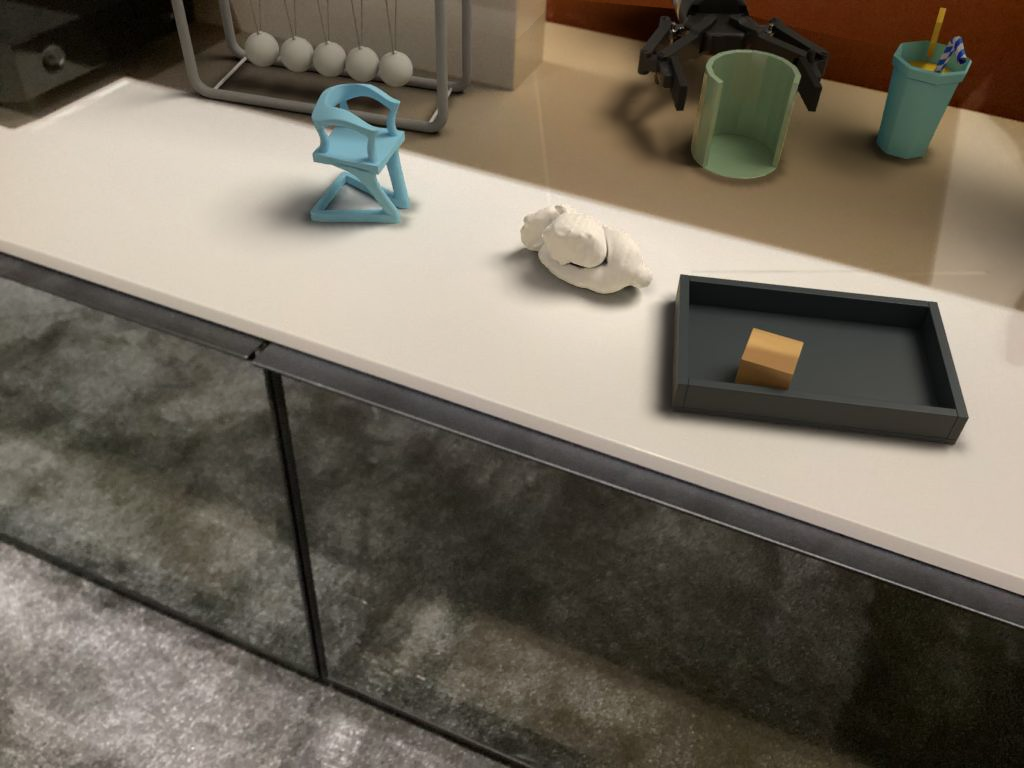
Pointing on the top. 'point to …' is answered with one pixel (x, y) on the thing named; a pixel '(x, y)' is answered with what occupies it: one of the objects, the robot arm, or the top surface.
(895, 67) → the cup
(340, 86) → the chair
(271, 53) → the newton's cradle
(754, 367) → the block
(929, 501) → the top surface
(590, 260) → the baby figurine
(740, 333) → the tray
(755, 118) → the pouring cup
